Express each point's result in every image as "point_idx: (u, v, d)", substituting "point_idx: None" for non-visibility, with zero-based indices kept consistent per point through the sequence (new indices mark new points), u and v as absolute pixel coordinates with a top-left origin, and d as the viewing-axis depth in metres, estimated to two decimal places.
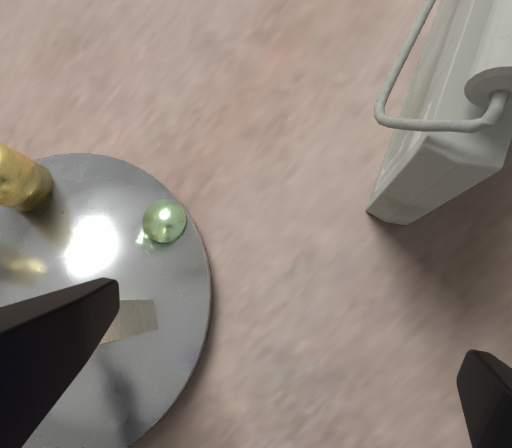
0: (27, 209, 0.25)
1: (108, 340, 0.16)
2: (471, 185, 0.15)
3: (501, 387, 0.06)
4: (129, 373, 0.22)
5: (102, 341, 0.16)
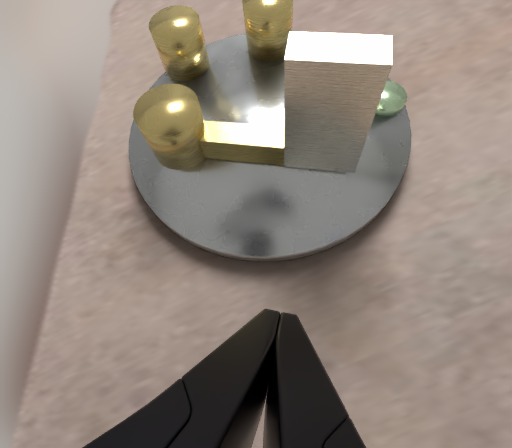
0: (266, 57, 0.29)
1: None
2: None
3: None
4: (314, 198, 0.23)
5: (379, 100, 0.17)
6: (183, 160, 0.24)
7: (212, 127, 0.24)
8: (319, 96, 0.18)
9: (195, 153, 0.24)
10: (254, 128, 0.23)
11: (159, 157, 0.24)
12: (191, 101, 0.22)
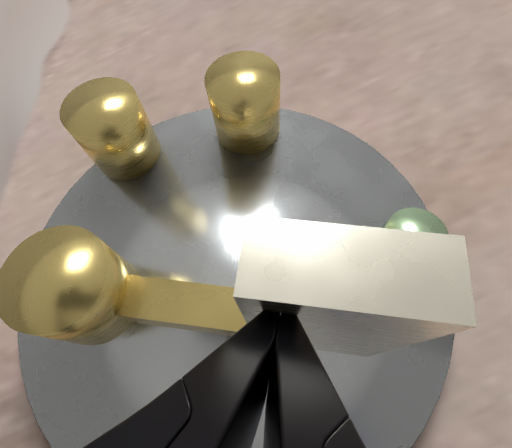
0: (240, 150, 0.20)
1: None
2: None
3: None
4: None
5: (429, 336, 0.09)
6: (92, 341, 0.15)
7: (138, 288, 0.15)
8: (310, 324, 0.09)
9: (112, 328, 0.15)
10: (205, 291, 0.14)
11: None
12: (95, 263, 0.13)
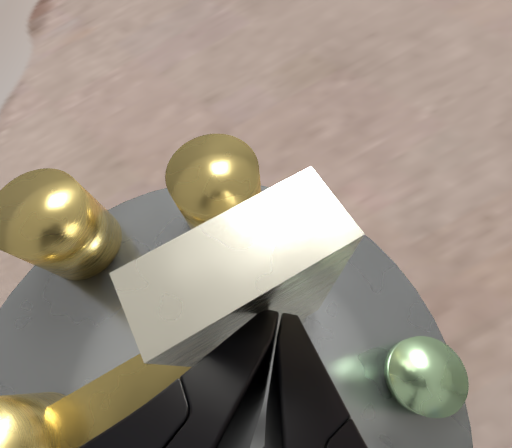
0: None
1: (340, 270, 0.10)
2: None
3: None
4: None
5: None
6: None
7: (68, 411, 0.12)
8: None
9: None
10: (141, 362, 0.13)
11: None
12: None
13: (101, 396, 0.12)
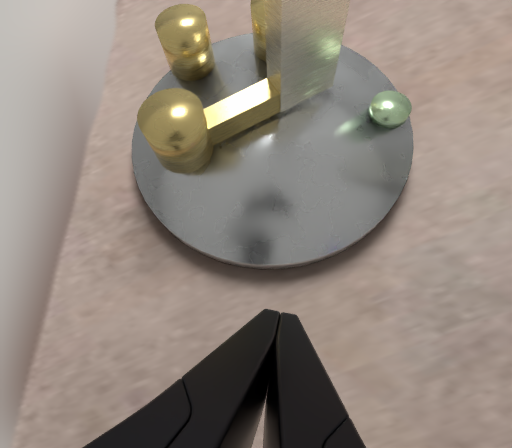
0: None
1: (346, 12, 0.22)
2: None
3: None
4: (313, 208, 0.24)
5: (348, 4, 0.21)
6: (204, 154, 0.24)
7: (209, 113, 0.24)
8: (307, 23, 0.21)
9: (209, 143, 0.24)
10: (243, 93, 0.25)
11: (181, 165, 0.24)
12: (186, 96, 0.23)
13: (225, 106, 0.25)
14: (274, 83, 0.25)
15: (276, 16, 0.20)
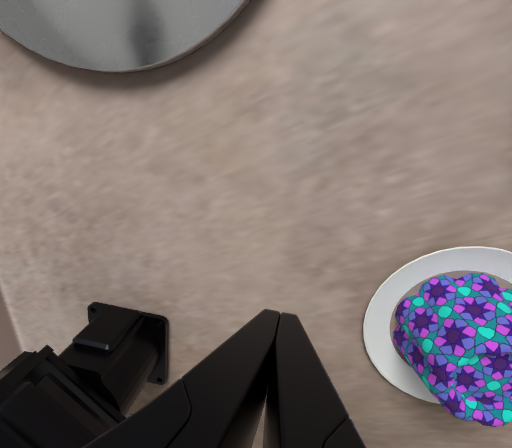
0: None
1: None
2: None
3: None
4: None
5: None
6: None
7: None
8: None
9: None
10: None
11: None
12: None
13: None
14: None
15: None
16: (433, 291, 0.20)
